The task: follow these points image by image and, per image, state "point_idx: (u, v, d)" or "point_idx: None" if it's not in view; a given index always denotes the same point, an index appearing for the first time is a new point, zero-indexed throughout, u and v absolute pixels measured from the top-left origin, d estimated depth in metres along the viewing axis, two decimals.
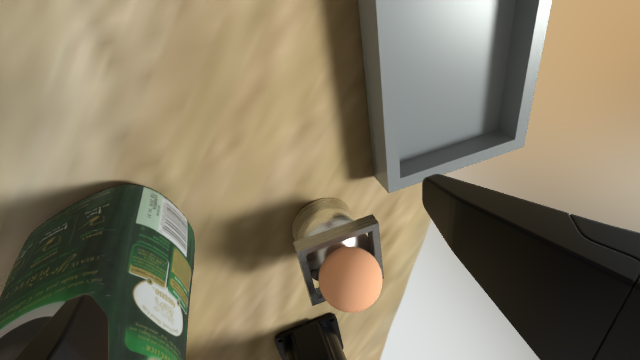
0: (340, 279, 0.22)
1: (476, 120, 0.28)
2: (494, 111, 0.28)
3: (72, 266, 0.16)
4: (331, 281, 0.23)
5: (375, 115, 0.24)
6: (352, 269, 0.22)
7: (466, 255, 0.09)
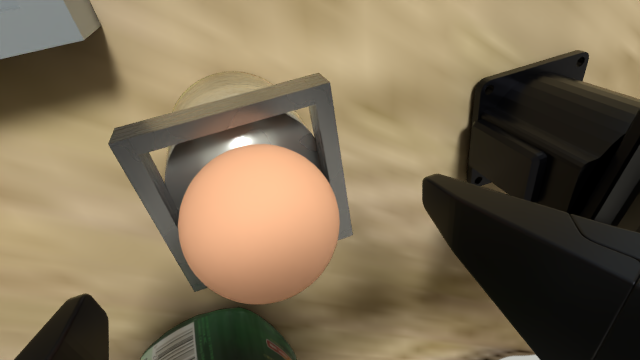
0: None
1: None
2: None
3: None
4: None
5: None
6: (192, 269, 0.09)
7: (466, 255, 0.09)
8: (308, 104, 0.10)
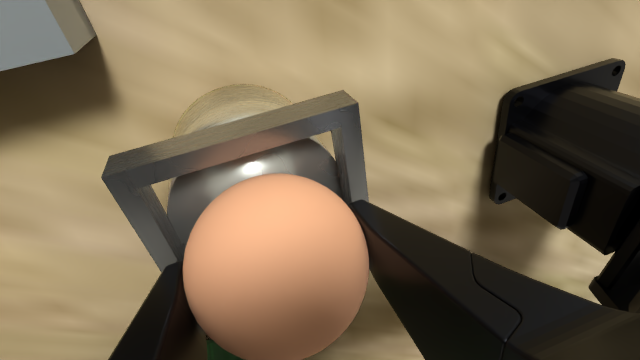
0: None
1: None
2: None
3: None
4: None
5: None
6: (199, 324, 0.08)
7: (385, 287, 0.08)
8: (332, 127, 0.09)
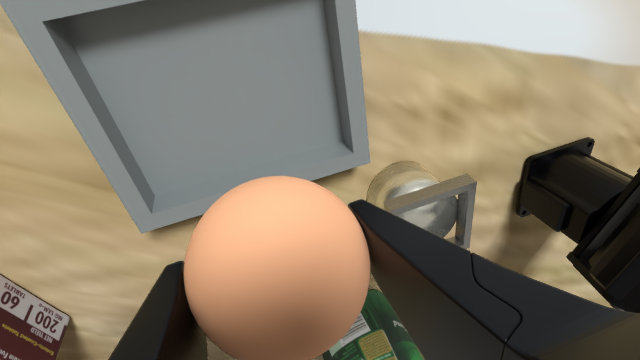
0: None
1: (296, 16, 0.18)
2: None
3: None
4: None
5: None
6: (200, 327, 0.08)
7: (385, 287, 0.08)
8: (466, 190, 0.22)
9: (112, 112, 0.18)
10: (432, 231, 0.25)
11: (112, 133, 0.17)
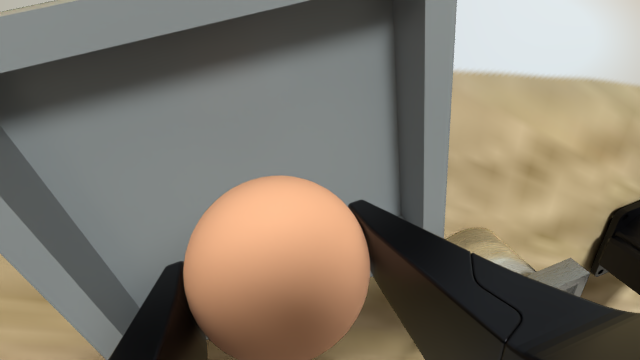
0: None
1: (352, 55, 0.12)
2: (337, 4, 0.11)
3: None
4: None
5: None
6: (200, 327, 0.08)
7: (385, 287, 0.08)
8: (574, 284, 0.16)
9: (68, 208, 0.11)
10: None
11: (67, 247, 0.11)
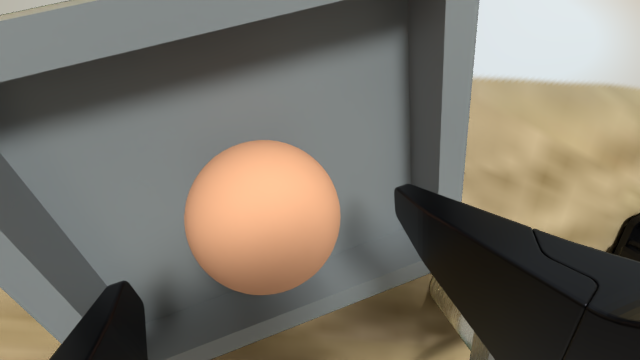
0: None
1: (364, 62, 0.11)
2: (349, 8, 0.10)
3: None
4: None
5: None
6: (198, 261, 0.09)
7: (435, 267, 0.09)
8: None
9: (63, 225, 0.11)
10: None
11: (61, 267, 0.10)
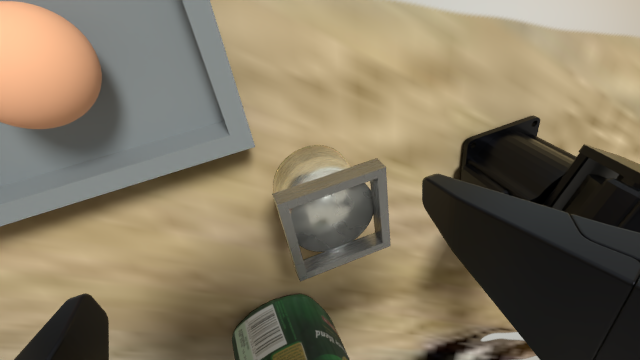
0: None
1: None
2: None
3: None
4: (7, 123, 0.13)
5: None
6: None
7: (466, 255, 0.09)
8: (373, 178, 0.18)
9: None
10: (345, 228, 0.21)
11: None
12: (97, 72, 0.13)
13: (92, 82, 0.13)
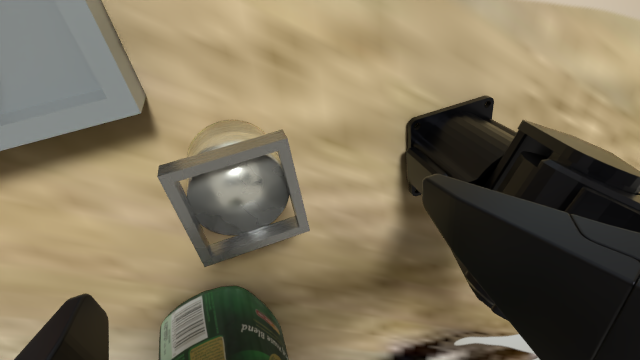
0: None
1: None
2: None
3: None
4: None
5: None
6: None
7: (466, 255, 0.09)
8: (274, 150, 0.16)
9: None
10: (257, 209, 0.19)
11: None
12: None
13: None
